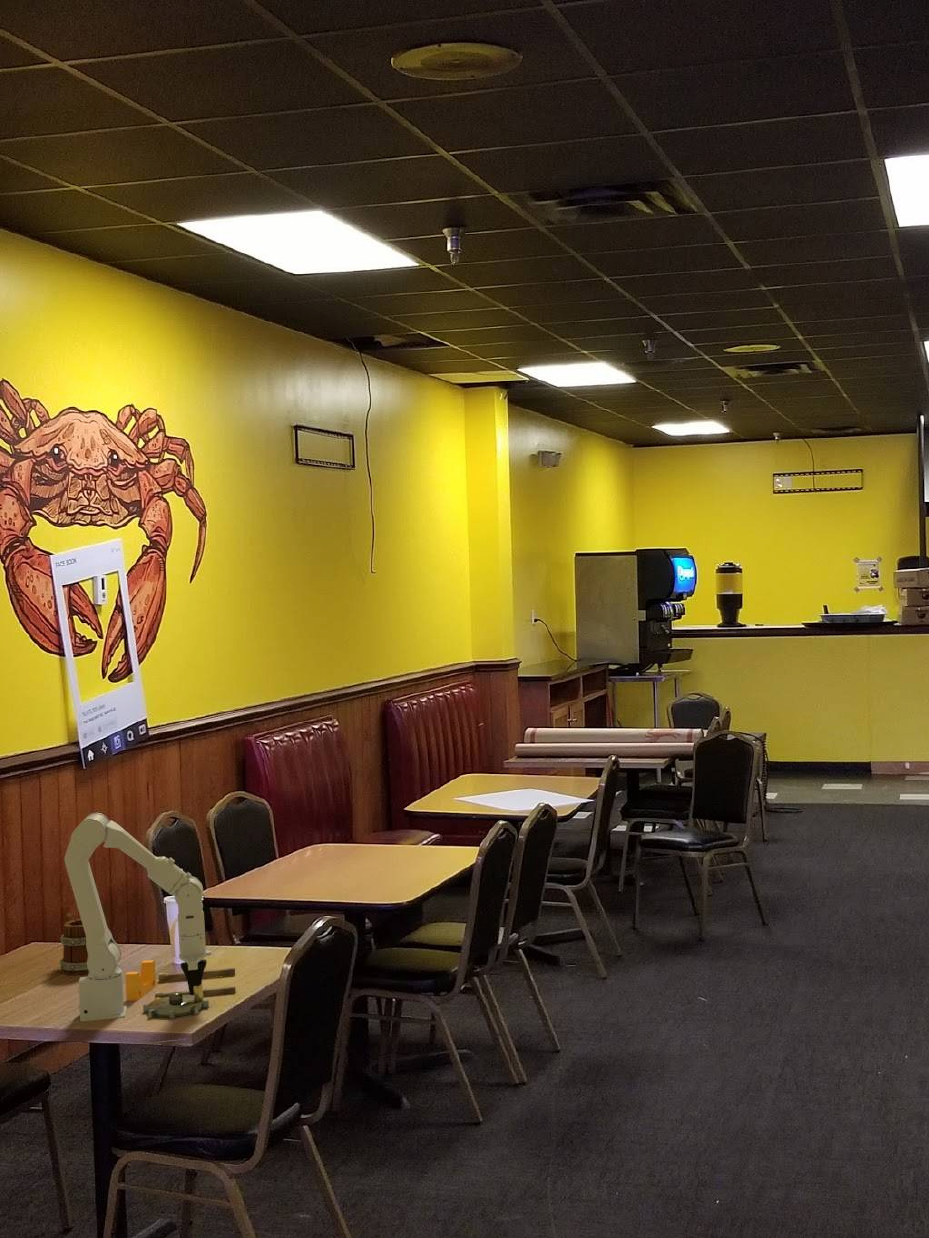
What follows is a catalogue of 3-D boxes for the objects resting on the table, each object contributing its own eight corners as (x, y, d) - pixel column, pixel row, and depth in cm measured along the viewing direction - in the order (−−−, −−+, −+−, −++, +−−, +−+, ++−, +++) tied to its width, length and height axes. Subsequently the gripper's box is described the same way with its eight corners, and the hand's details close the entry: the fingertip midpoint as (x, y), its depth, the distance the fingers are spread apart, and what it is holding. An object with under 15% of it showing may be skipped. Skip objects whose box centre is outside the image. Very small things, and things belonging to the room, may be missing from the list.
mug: (71, 978, 350) (63, 916, 351) (50, 977, 361) (43, 917, 363) (116, 968, 357) (109, 907, 359) (94, 968, 368) (87, 909, 370)
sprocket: (138, 1021, 310) (137, 998, 310) (148, 1002, 324) (147, 980, 324) (205, 1016, 311) (204, 993, 311) (212, 997, 325) (210, 976, 325)
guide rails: (155, 1001, 326) (154, 993, 326) (159, 981, 344) (158, 973, 344) (235, 994, 329) (235, 985, 328) (235, 973, 346) (234, 965, 346)
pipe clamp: (138, 987, 339) (137, 960, 339) (156, 987, 339) (154, 960, 339) (119, 1002, 328) (117, 974, 327) (137, 1002, 327) (136, 974, 327)
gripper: (209, 939, 313) (213, 1001, 313) (210, 924, 327) (213, 983, 327) (176, 942, 311) (180, 1004, 312) (178, 927, 326) (182, 986, 326)
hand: (195, 994), depth 319 cm, fingers closed, pressing on sprocket
